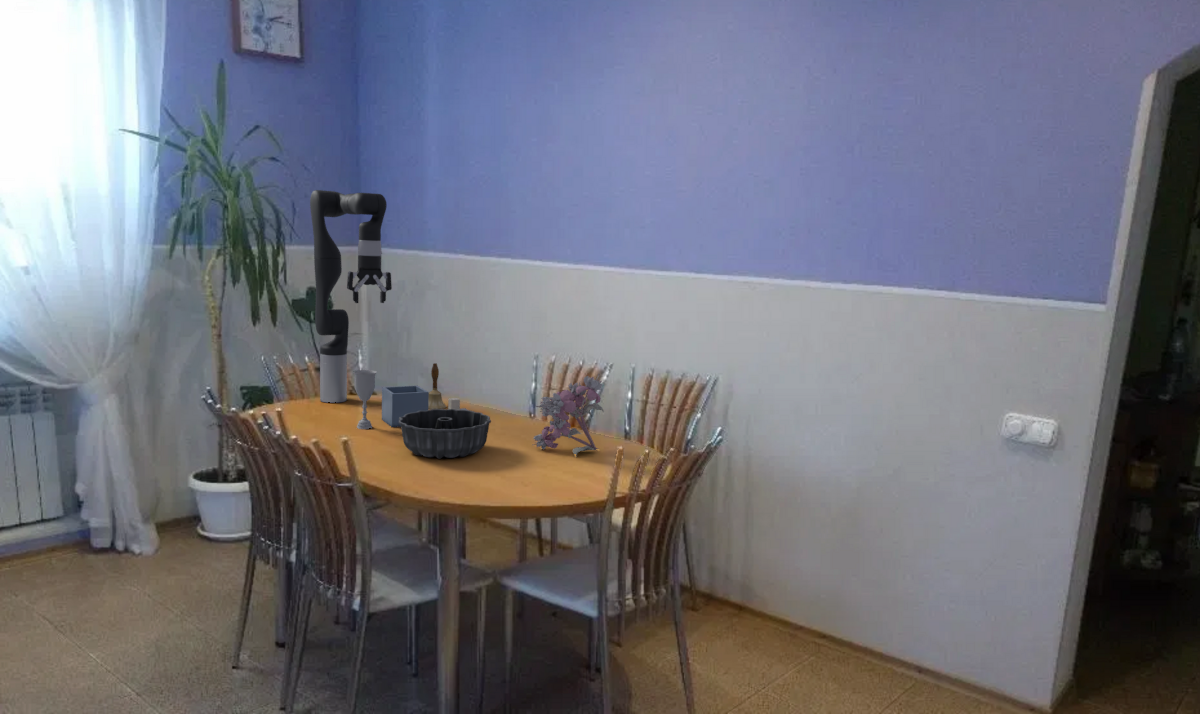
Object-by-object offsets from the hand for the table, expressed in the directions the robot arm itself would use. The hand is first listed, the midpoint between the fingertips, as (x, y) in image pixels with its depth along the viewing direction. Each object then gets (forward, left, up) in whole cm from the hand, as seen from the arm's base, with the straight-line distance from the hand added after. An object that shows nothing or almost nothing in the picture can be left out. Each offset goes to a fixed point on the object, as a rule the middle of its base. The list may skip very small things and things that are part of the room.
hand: (369, 303), depth 286 cm
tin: (+15, +8, -38) cm, 42 cm away
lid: (+15, +25, -38) cm, 48 cm away
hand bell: (-5, +25, -38) cm, 46 cm away
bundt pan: (+54, +8, -38) cm, 67 cm away
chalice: (+18, -6, -38) cm, 43 cm away
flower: (+66, +40, -38) cm, 86 cm away
